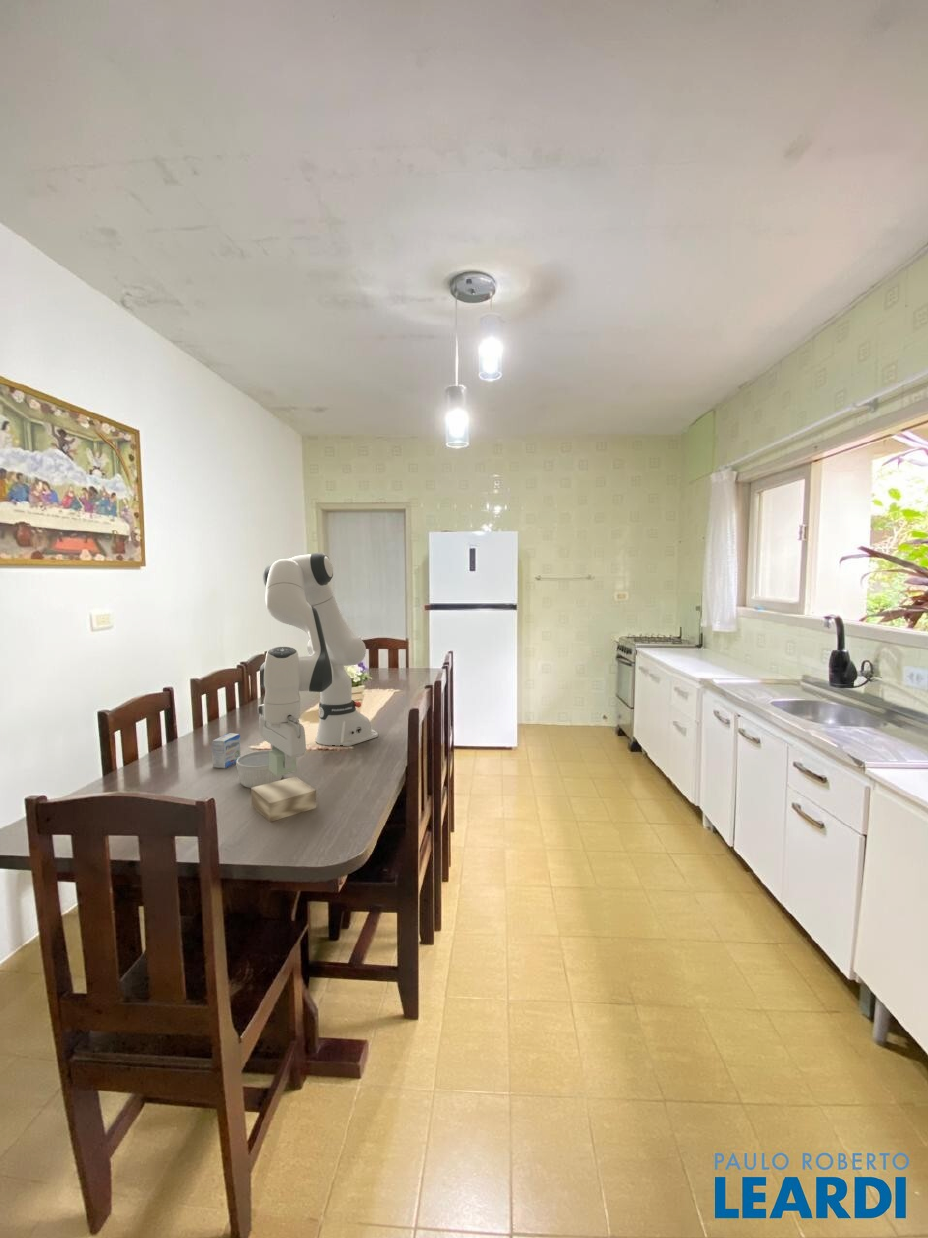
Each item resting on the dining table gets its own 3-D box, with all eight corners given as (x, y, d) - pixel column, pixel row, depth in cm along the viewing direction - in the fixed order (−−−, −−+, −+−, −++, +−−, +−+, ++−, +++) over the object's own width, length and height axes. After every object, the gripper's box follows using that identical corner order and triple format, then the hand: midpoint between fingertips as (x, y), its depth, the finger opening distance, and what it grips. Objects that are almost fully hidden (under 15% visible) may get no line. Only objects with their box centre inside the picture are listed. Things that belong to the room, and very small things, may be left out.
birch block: (295, 794, 142) (295, 776, 142) (315, 809, 133) (315, 790, 133) (251, 806, 134) (251, 787, 134) (269, 823, 125) (269, 803, 125)
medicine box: (224, 769, 158) (224, 741, 157) (211, 767, 159) (211, 740, 158) (240, 760, 166) (240, 733, 165) (228, 759, 166) (228, 732, 166)
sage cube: (287, 765, 136) (287, 747, 136) (295, 771, 133) (295, 752, 132) (268, 770, 133) (268, 751, 132) (276, 776, 129) (276, 756, 129)
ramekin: (255, 794, 140) (255, 769, 140) (226, 783, 147) (226, 759, 147) (295, 779, 152) (294, 755, 151) (265, 769, 159) (265, 747, 158)
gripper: (312, 718, 126) (312, 773, 127) (278, 702, 141) (278, 751, 142) (287, 722, 122) (287, 779, 123) (254, 705, 137) (255, 756, 138)
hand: (282, 764), depth 133 cm, fingers closed on sage cube, 5 cm apart
